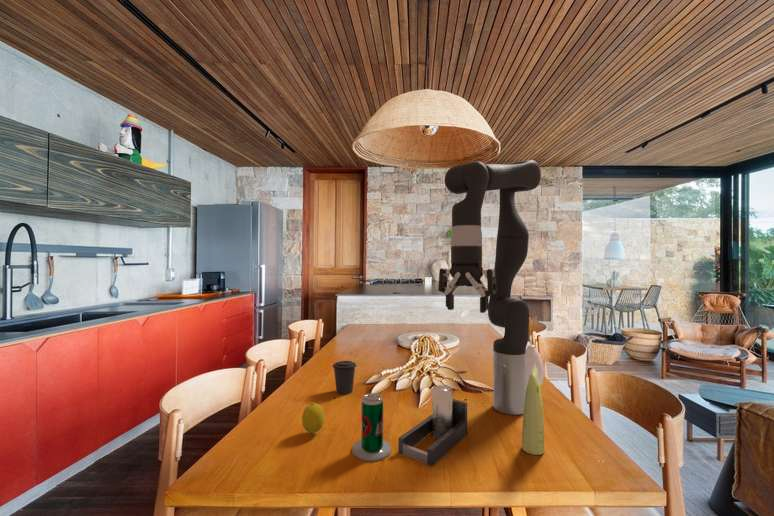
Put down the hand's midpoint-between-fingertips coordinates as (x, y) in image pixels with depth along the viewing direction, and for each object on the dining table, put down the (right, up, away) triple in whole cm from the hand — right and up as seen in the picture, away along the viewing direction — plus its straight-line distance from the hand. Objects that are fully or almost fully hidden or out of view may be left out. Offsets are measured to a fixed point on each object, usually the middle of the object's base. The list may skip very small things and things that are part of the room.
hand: (466, 310), depth 87 cm
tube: (+15, -32, -4) cm, 36 cm away
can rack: (-8, -32, -1) cm, 33 cm away
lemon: (-38, -32, +4) cm, 50 cm away
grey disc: (-23, -32, -4) cm, 40 cm away
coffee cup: (-34, -33, +33) cm, 57 cm away
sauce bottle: (+30, -33, +35) cm, 56 cm away
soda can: (-23, -32, -4) cm, 39 cm away
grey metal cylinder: (-5, -32, +3) cm, 33 cm away
